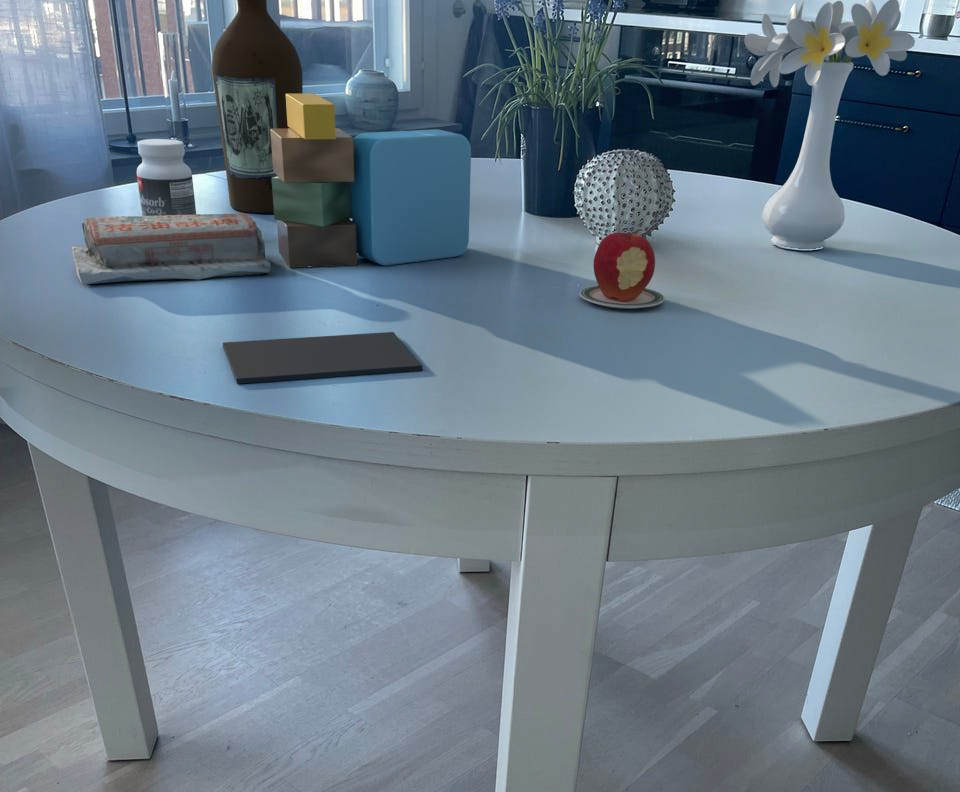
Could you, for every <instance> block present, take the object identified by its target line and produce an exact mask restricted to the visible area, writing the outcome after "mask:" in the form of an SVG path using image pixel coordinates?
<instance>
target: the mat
mask: <svg viewBox="0 0 960 792" xmlns="http://www.w3.org/2000/svg"><path fill="white" fill-rule="evenodd" d="M222 349H223V351H224V354H225V356H226V359H227V362H228V364H229V366H230V367H229V368H230V370H231V372H232V374H233V375H232V376H233V377H234V380H235V383H236V384H237V385H243V384H255V383H257V384H258V383H269V382H282V381H283V382H284V381H296V380H297V381H298V380H309V379H322V378H338V377H350V376H363V375H365V376H366V375H378V374H391V373H405V372H418V371H419V372H420V371H423V365H422V363H421V362H420V361H419V360H418V358H417V357H416V356H415V355H414V354H413V353H412V352H411V351H410V350H409V349H408V347H407V346H406V344H405V343H403V341H402V340H401V339H400V337H398V335H397V334H396V333H395V332H394V331H386V332H385V331H384V332H369V333H355V334H338V335H336V334H335V335H321V336H305V337H291V338H290V337H288V338H272V339H257V340H256V339H255V340H243V341H242V340H240V341H226V342H224V341H223V342H222Z"/></svg>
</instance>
